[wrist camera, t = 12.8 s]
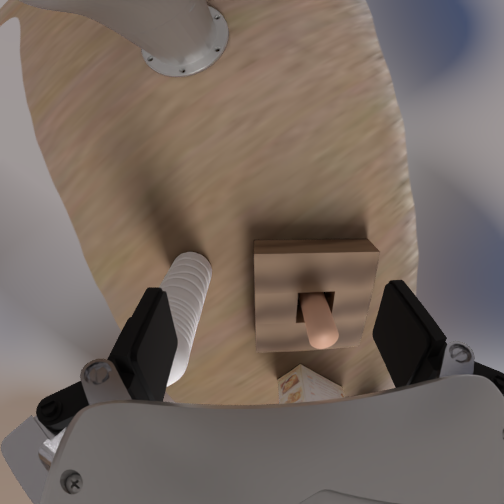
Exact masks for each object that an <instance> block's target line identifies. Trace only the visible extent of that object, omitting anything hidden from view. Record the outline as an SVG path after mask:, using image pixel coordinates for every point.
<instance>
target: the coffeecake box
mask: <svg viewBox="0 0 504 504" xmlns="http://www.w3.org/2000/svg"><path fill="white" fill-rule="evenodd" d="M277 381H278V392H279V404H286V403H300V402H311V401H320V400H329V399H337V398H344V397H345V395H344V391H343V387H341V386H339V385H337V384H335V383H334V382H332V381H330V380H328V379H326V378H324V377H323V376H321V375H319V374H317V373H315V372H314V371H312V370H310V369H308V368H306V367H305V366H303V365H301V364H299V365H298V366H297V367H295V368H294V369H293V370H291V371H290V372H288V373H287V374H285V375H284V376H282V377H281V378H279V379H278V380H277Z"/></svg>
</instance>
